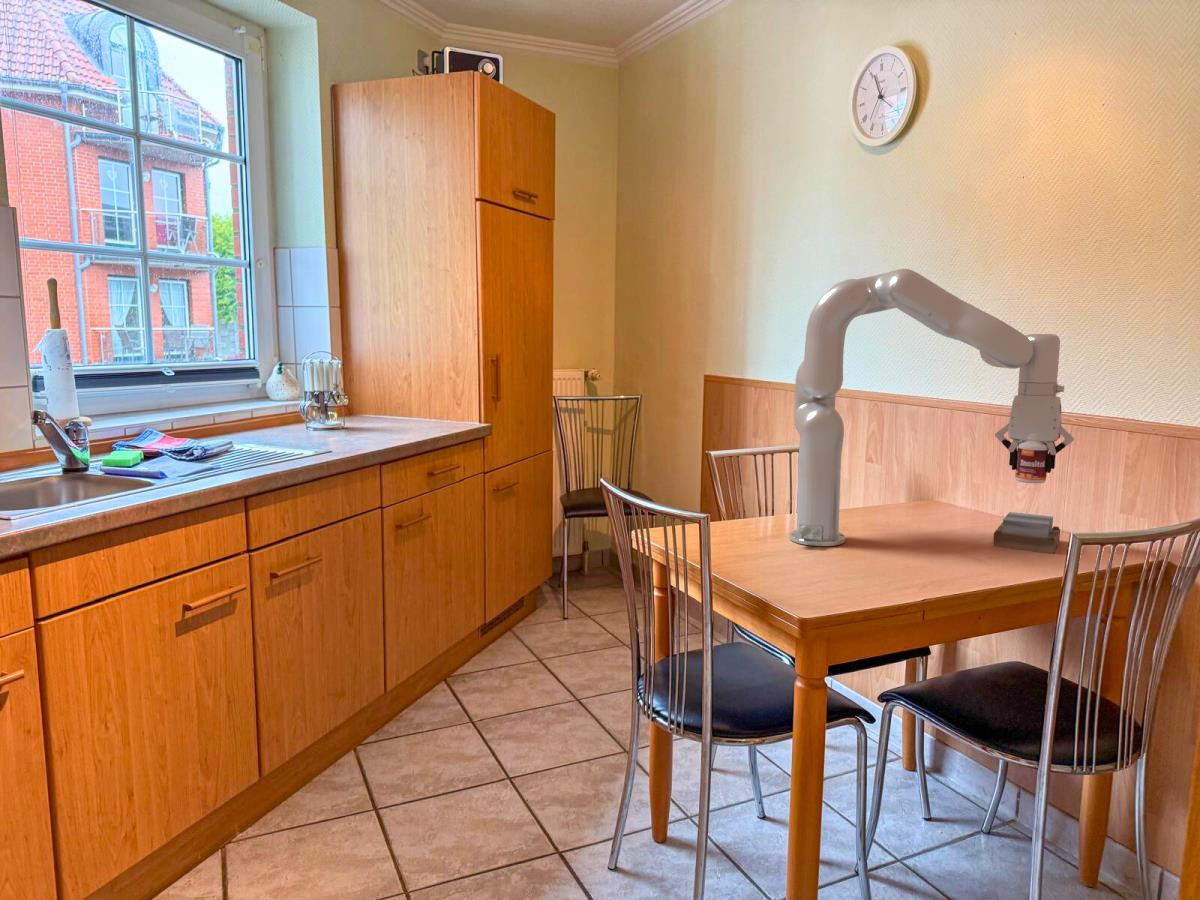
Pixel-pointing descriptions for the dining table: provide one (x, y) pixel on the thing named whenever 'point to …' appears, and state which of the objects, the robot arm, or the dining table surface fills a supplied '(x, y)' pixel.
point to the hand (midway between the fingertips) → (1031, 469)
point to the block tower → (1027, 533)
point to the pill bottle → (1031, 460)
